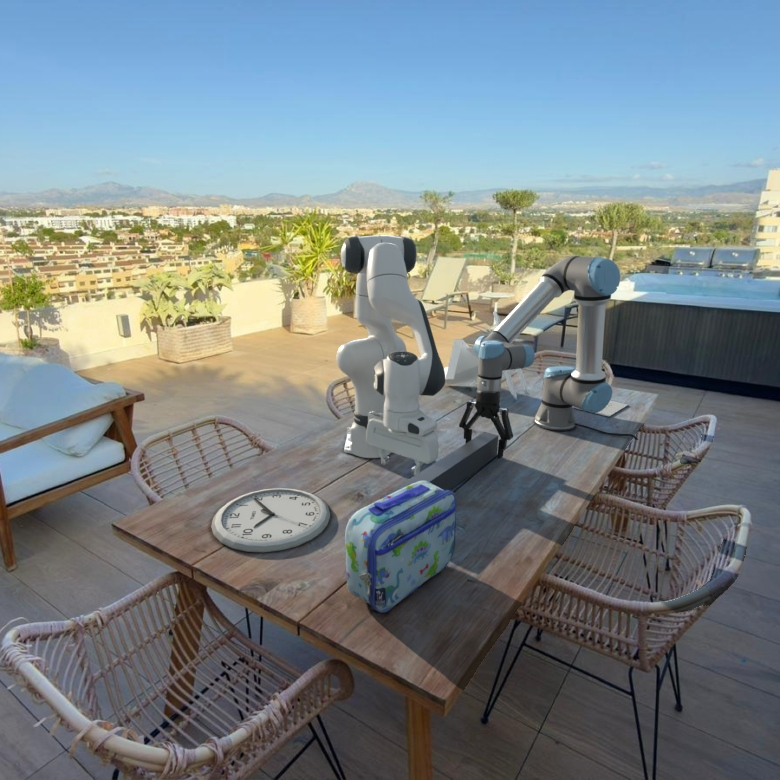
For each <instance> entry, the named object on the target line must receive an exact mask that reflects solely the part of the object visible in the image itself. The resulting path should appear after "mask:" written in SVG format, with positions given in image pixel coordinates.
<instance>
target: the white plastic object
mask: <svg viewBox="0 0 780 780" xmlns="http://www.w3.org/2000/svg"><path fill="white" fill-rule="evenodd" d="M492 315H493V319H494V321H495V324H496V325H495V326H496V327H497V326H498V325H499V324H500V323H501V322H502V321H501V318H500V315H499V314H498V312H497V311H496V310H495V311H492ZM478 365H479V356H478V355H477V354H476V352H475V350H474V346H469V345H468V343H466V342H465V340H464V339H463V338H460V339H458V338H454V340H453V344H452V349H451V353H450V357H449V362H448V366H446V367H444V371H445V385H444V386H449V385H458V384H467V383H468V384H469V383H473V384H477V380H478ZM516 372H517V376H518V380H519V382H520V385H521V389H522V391H523V393H524V395H525V396H526V397H528V396H531V395H530V390H529V388H528V387H529V386H528V384H527V381H526V378H525V375H524V371H523V368H522V369H521V368H520V369H516ZM503 373H504V376H505V380H506V383H507V386H508V390H509V393H510V394H511V395H512V397H513V398H514V399H515V400H517V392H516V391H517V390H516V388H515V385H514V381H513V378H512V375H511V370H503Z"/></svg>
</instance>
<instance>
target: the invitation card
mask: <svg viewBox="0 0 780 780" xmlns="http://www.w3.org/2000/svg"><path fill="white" fill-rule="evenodd" d="M628 406H629V404H627V403H623V402H618V401H614V400H610V402H609V403H608V405H607V406H606V407H605V408H604V409H603V410H601V411H600V412H597V413H595V414H596V415H600V416H604V417H608V418H609V417H611V416H613V415H614V414H616V413H617V412H619V411H621V410H623V409H624V408H626V407H628ZM573 409H575V410H581V411H583V410H582V409H579V408H577V407H574V406H573Z"/></svg>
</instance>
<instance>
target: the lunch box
mask: <svg viewBox="0 0 780 780" xmlns="http://www.w3.org/2000/svg"><path fill="white" fill-rule="evenodd" d="M456 531H457V499H456V495H455V493H454V492H453V490H443V489H441V488H439V487H437V486H435V485H433V484H432V483H430V482H428V481H418V482H416V483H413V484H411V485H409V486H406V487H404V488H402V489H400V490H398V491H396V492H394V493H392V494H390V495H388V496H386V497H384V498H382V499H380V498H379V499H378V500H376V501H374V502H372V503H370V504H368V505H366V506H364V507H361V508H360V509H358V510H357V511H356V512H355V511H354V513H352V515H351V517H350V518H349V520H348V521H347V524H346V526H345V531H344V552H345V577H346V578H345V580H346V586H347V589H348V592H349V593H350V594H352V595H354V596H356V597H357V598H359V599H361V600H363V602H365V603H367V604H368V605H370V607H371V608H372V609H373V610H375V611H376V612H378V613H380V614H382V613H383V614H385V613H387V612H389V611H391V609H393V608H394V607H395V606H396V605H397V604H400V602H401V601H402V600H404V599H406V597H409V596H410V595H411V594H412V593H414V592H415V591H416V590H417V589H418V588H420V587H421V586H422V585H423V584H424V583H425V582H427V581H428V580H430V579H432V578H433V577H434V576H436V575H437V574H439V573H441V572H442V571H443V570H445V568H446V567H447V566H448V564H449V563H450V561H451V560H452V557H453V554H454V551H455V548H456V547H455V546H456Z"/></svg>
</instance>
